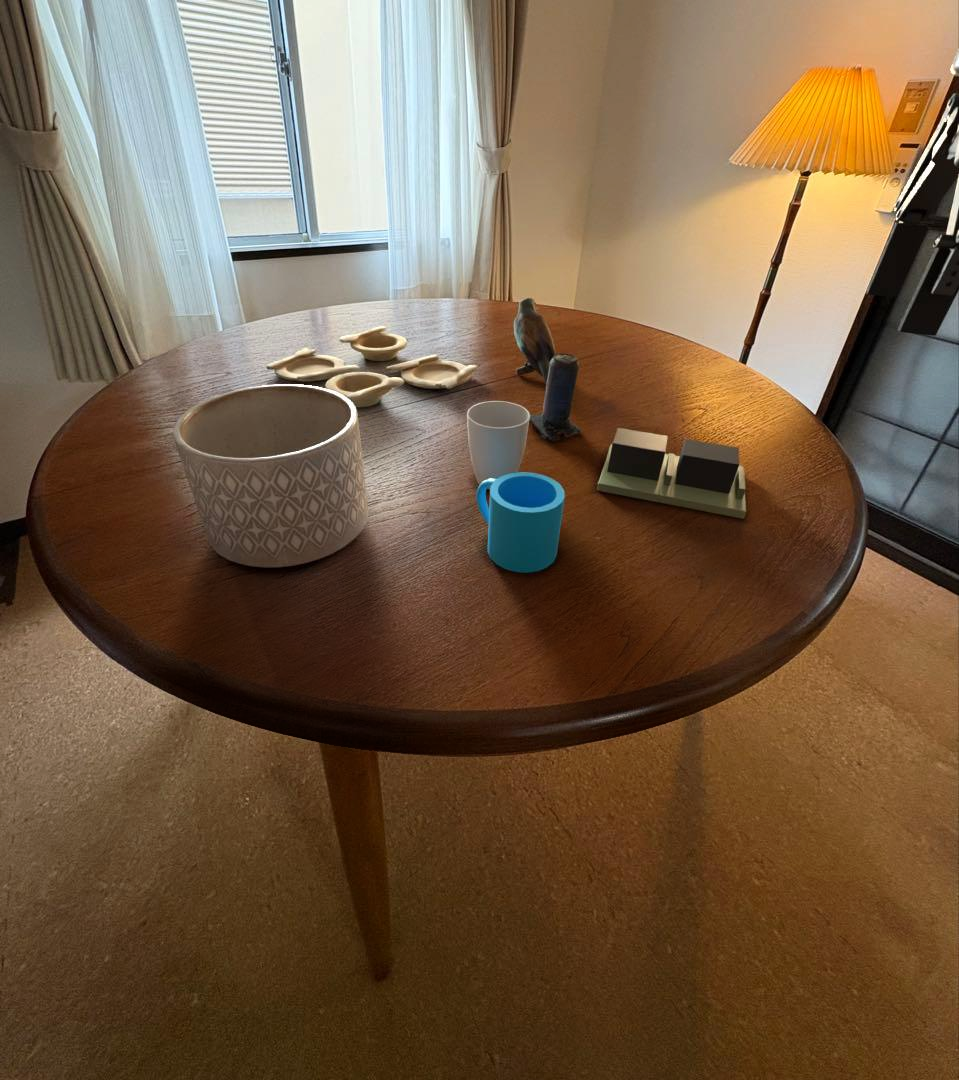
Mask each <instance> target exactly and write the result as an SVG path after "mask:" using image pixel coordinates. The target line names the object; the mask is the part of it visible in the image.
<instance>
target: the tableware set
mask: <svg viewBox="0 0 959 1080" xmlns="http://www.w3.org/2000/svg"><path fill="white" fill-rule="evenodd" d="M386 331H387V327H386V326H384V325H381V326H377V327H374V328H371V329H368V330H365V331H363V332H360V333H355V334H347V335H343V336H340V337H339V338H338V341H339V342H340V343H343V344H349V345H350V348H351V349H352V350H354V351H356V352H359V353H360V354H361V355H362V356H363V358H365V359H366V360H367V361H373V362H385V361H391V360H393V359H395V358H396V356H397V354H398V353H399V352H400V351H402V350H405V348H406V347H407V346H408V340H407V339H406V338H405V336H401V335H398V334H395V333H385V332H386ZM317 352H318V350H317V349H313V348H308V347H305V348H302V349H300V350H298V351H296V352H295V354H293V355H290V356H287V357H284V358H282V359H279V360H277V361H274V362H270V363H268V364H266V366H265V367H266V369H267V370H270V371H274V373H275V375H276V376H277V377H278V378H281V379H284V380H286V381H293V382H316V381H317V382H319V381H323V380H327V381H326V382H325V385H324V389H328V390H331V391H334V392H337V393H339V394H341V395H343V396H345V397H346V398H347V399H349V400H350V401H351V402H352V403H353V404H354V405H355V407H356V408H366V407H371V406H374V405H376V404H378V403H379V402H380V401H381V399H382V397H383V396H384V395H385V394H388V393H389V392H391V391H392V389H393V388H399V387H400V386H402V385H403V384H404V383H407V384H409V385H411V386H414V387H417V388H422V389H447V390H450V389H452V388H454V387H458V386H460V385H461V386H462V385H463V384H466V383H467V382H468V381H470V379H471V378H472V374H473V373H474V372H476V371H477V370H478V366H477V365H476V364H469V365H465V364H463V363H460V362H456V361H450V360H443V359H442V360H441V359H440V355H439V354H432V355H428V356H423V357H419V358H415V359H412V360H408V361H404V362H400V363H397V364H396V363H395V364H392V365H388V366H386V367H385V368H386V371H387V372H390V373H395V372H399V371H400V377H397V376H396V377H395V376H393V377H389V376H387V375H385V374H381V373H377V372H371V371H370V372H369V371H360V369H361V368H360V366H359V365H356V364H348V365H346V363H345V362H344V360H342V359H341V358H339V357H336V356H332V355H328V354H316V353H317Z"/></svg>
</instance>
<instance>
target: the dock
mask: <svg viewBox="0 0 959 1080" xmlns="http://www.w3.org/2000/svg"><path fill="white" fill-rule="evenodd" d="M668 439H669V436H668V435H665V434H664V435H663V434H658V433H653V432H645V431H640V430H633V429H628V428H621V427H617V428H616V431H615V435H614V437H613V440H612V444H610V446H609V448H608V452H607V455H606V458H605V461H604V464H603V467H602V470H601V474H600V475H599V476H600V477H599V480H598V482H597V487H596V491H599V492H603V493H608V494H613V495H619V496H623V497H629V498H634V499H639V500H645V501H650V502H655V503H659V504H665V505H670V506H674V507H675V506H676V507H680V508H685V509H690V510H695V511H699V512H700V511H701V512H705V513H712V514H716V515H722V516H727V517H730V518H731V517H732V518H736V519H742V520H743V519H745V517H746V513H747V503H746V491H747V488H746V475H745V474H746V473H745V466H744V465H740V464H739V467H738V470H737V473H736V476H735V479H734V482H733V484H732V487H731V490H730V493H729V494H726V493H721V492H715V491H710V490H705V489H699V488H694V487H689V486H683V485H678V484H675V481H676V472H677V465H678V462H679V458H680V455H675V453H671V452H669V453H668V454H667V446H668Z"/></svg>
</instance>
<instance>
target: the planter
mask: <svg viewBox="0 0 959 1080" xmlns="http://www.w3.org/2000/svg"><path fill="white" fill-rule="evenodd" d="M172 438H173V441H174V444H175V446H176V451H177V452H178V453H177V454H178V455H179V459H180V462H181V464H182V468H183V471H184V474H185V476H186V479H187V483H188V485H189V488H190V491H191V494H192V497H193V501H194V502H195V505H196V509H197V511H198V515H199V518H200V521H201V524H202V527H203V530H204V532H205V535H206V538H207V541H208V544H209V546H211V548H212V550H213V551H215V553H217V554H218V555H219V556H221V557H223V558H225V559H226V560H228V561H230V562H233V563H236V564H240V565H242V566H243V565H244V566H249V567H254V568H255V567H256V568H283V567H292V566H293V567H294V566H298V565H303V564H308V563H310V562H314V561H317V560H320V559H323V558H325V557H327V556H330V555H332V554H334V553H336V552H338V551H339V550H342V549H343V548H345V547H346V546H347V545H349V544H350V543H351V542H352V541H354V540H355V539H356V538H357V537H358V536H359V535H360V533H361V532H362V531H363V530H364V529H365V526H366V524H367V522H368V519H369V514H370V512H369V504H368V495H367V485H366V484H367V483H366V477H365V469H364V459H363V451H362V450H363V449H362V441H361V432H360V424H359V415H358V410H357V407H355V405H354V404H353V403H352V402H351V401H350V400H349V399H347V398H346V397H345V396H343V395H341V394H339V393H337V392H334V391H331V390H328V389H326V388H325V387H324V388H323V387H319V386H314V385H313V386H312V385H304V384H267V385H258V386H252V387H251V386H250V387H244V388H240V389H236V390H231V391H228V392H225V393H221V394H218V395H215V396H212V397H210V398H207V399H205V400H203V401H201V402H198V403H197V404H195V405H193V406H192V407H190V408H189V409H187V410H186V411H185V412H183V414H181V415H180V417H178V418H177V420H176V421H175V423H174V425H173V427H172Z"/></svg>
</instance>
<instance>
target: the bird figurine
mask: <svg viewBox="0 0 959 1080" xmlns="http://www.w3.org/2000/svg"><path fill="white" fill-rule="evenodd" d="M536 305H537V302H536V301H535V299H533V298H532V297H525V298H523V299H522V300H520V301H519V303H518V311H517V312H518V313H517V316H516V317H514V320H513V333H514V339H515V341H516V343H517V346H518V348H519V351H520V352H521V353H522V355H523V357H524V358H525V359H526V360H525V362H524V364H523V366H521V367H517V368H516V369H515V373H516V375H517V376H522V375H525V374H528V373H533V372H535V371H536V373H538V374H539V375H540V376H541V377H542V378H543V380H544V383H545V385H547V378H548V371H549V365H550V361H551V359H552V358H553V357H554V355H555V354H557V351H556V348H555V344H554V339H553V336H552V333H551V330H550V328H549V326H548V323H547V319H546V317H545V316H543V315H542V314H541V313H539V312H538V311H537V310H536ZM528 363H529V364H528Z"/></svg>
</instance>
